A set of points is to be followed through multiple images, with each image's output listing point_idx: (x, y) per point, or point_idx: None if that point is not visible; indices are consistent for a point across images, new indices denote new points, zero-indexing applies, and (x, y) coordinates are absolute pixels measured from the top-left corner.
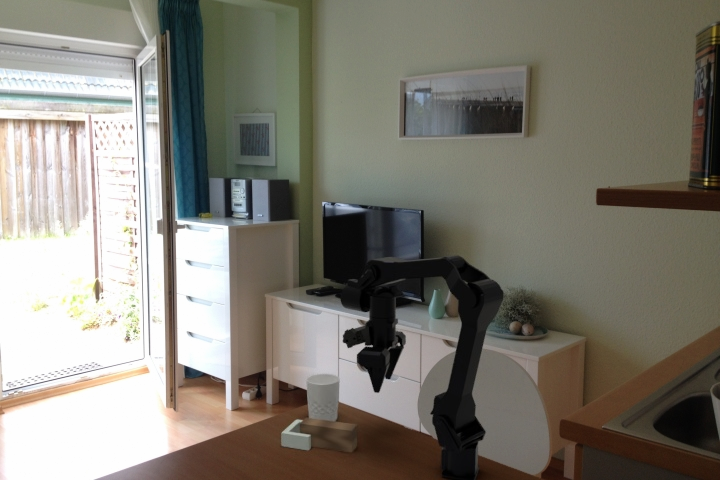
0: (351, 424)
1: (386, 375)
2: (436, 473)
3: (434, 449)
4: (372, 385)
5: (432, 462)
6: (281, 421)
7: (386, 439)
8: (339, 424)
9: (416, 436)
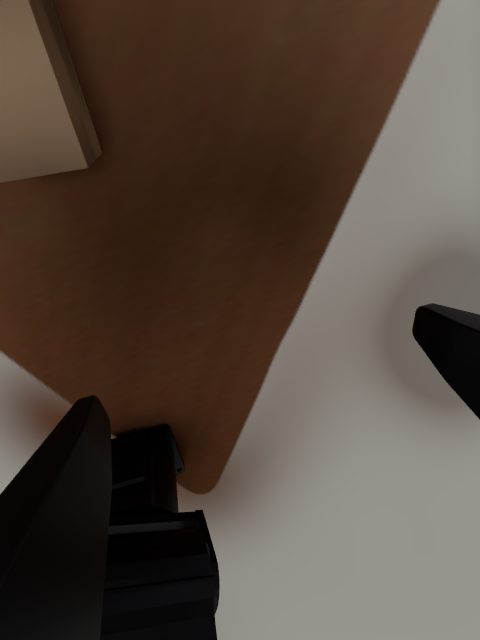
0: (65, 133)
1: (437, 327)
2: None
3: (225, 371)
4: (37, 452)
5: (152, 399)
6: None
7: (221, 232)
8: (3, 47)
9: (285, 301)
